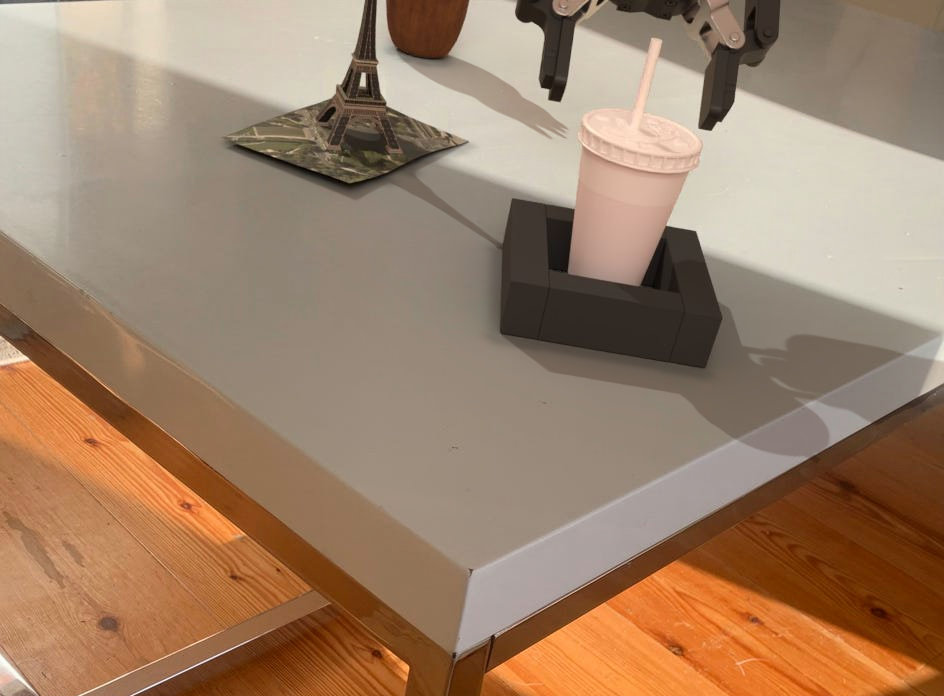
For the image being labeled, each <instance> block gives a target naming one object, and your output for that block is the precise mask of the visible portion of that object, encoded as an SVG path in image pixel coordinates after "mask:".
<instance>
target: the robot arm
mask: <svg viewBox="0 0 944 696" xmlns="http://www.w3.org/2000/svg"><path fill="white" fill-rule="evenodd" d="M608 1H609V2H610V3H611V4H613V5H614V6H616V7H615V11H618V12H623V13H628V14H632V13H633V14H634V13H644V14H647V15H649V16H651V17H654V18H656V19H658V20H664V21H669V22H670V21H671V20H672V18H673V17H677V18H678V20H679V22H680V23H681V25H682V27H683V28H684V31H685V32H686V34H687V36H688V37H689V39H690V40H691V41H693V42H697V43H698V45H699V47H700V48H701V50H702V52H703V54H704V56H705V57H706V60H707V61H708V62H709V63H708V64H707V66H706V68H705V69H704V76H703V85H702V92H701V99H700V108H699V117H698V122H697V123H698V125H697V128H698V130H702V131H708V132H712V131H713V129H714V128H715V127H716V125H717V123H722V122H723V121H724V120H725V118H726V117H727V115H728V113H730V111H731V108H732V107H733V105H734V104H735V100H736V91H737V84H738V77H739V68H740V67H739V66H742V65H746V66H747V67H750V68H756V67H760V65H762V63H763V61H764V60H765V58H766V55H767V53H769V51H770V49H771V48H772V47H773V46H774V45H775V43H776V42H777V40H779V39H778V38H779V34H780V18H781V17H780V13H781V0H744V15H743V16H744V17H743V29H742V28H741V26H740V24H739V22H738V20H737V19H736V17H735V15H734V13H733V12H732V9H731V8H730V0H516V5H515V9H514V10H515V11H514V15H515V17H516V19H517V20H518V21H519V22H520V23H523V24H529V23H530V24H531V23H533V24H535V25H536V26H538V27H539V28H540V29H541V31H542V33H543V36H544V37H543V45H542V53H541V58H540V65H539V66H540V67H539V73H538V82H539V86H540V89H544V90H548V95H547V100H548V101H549V102H554V103H555V102H556V103H561V102H562V100H563V97H564V94H565V92H566V89H567V85H568V79H569V72H570V65H571V59H572V58H571V57H572V50H573V43H574V38H575V37H574V36H575V29H576V27H577V26H578V25H579V24H580V23H581V22H582V21H583V20H585V21H586V20H588V19H589V18H591V17H592V16H593V15H594V14H595V13H596V12H597V11H598V10H599V9H600V8H602V7H603V6H604V5H605V4H606V3H607V2H608ZM699 2H700V3H699Z"/></svg>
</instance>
